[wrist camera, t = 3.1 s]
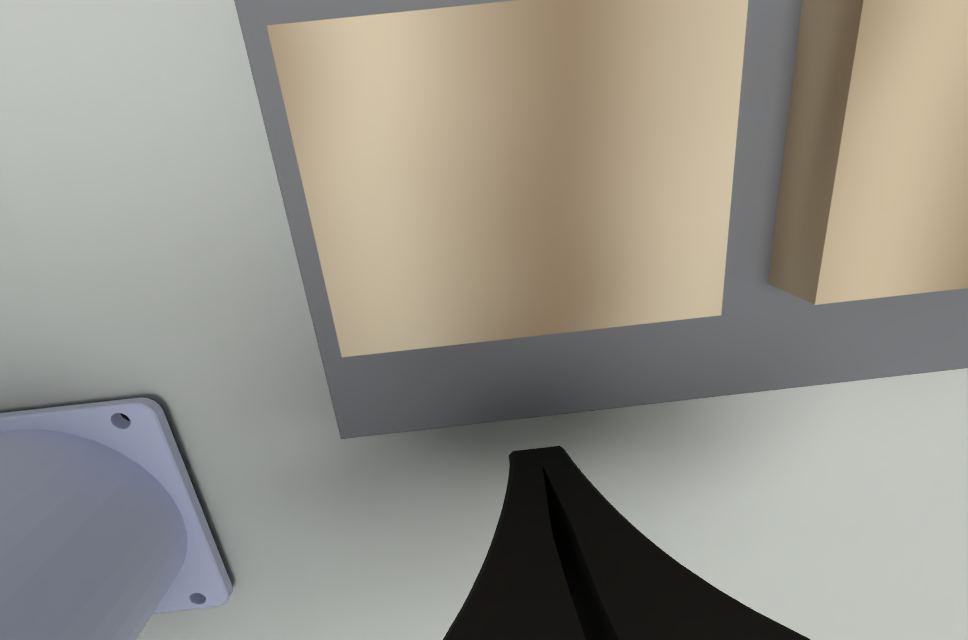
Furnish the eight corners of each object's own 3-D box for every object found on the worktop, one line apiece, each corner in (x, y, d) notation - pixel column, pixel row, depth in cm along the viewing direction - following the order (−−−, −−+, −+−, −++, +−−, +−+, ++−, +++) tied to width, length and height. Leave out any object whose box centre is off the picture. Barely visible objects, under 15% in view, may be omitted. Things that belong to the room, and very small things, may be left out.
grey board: (356, 400, 14) (340, 439, 12) (259, -37, 10) (215, -78, 8) (1005, 327, 15) (1086, 354, 13) (1148, -125, 11) (1297, -183, 9)
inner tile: (357, 329, 11) (341, 357, 10) (297, 44, 9) (266, 25, 8) (686, 292, 11) (721, 315, 10) (703, 3, 9) (750, -24, 8)
